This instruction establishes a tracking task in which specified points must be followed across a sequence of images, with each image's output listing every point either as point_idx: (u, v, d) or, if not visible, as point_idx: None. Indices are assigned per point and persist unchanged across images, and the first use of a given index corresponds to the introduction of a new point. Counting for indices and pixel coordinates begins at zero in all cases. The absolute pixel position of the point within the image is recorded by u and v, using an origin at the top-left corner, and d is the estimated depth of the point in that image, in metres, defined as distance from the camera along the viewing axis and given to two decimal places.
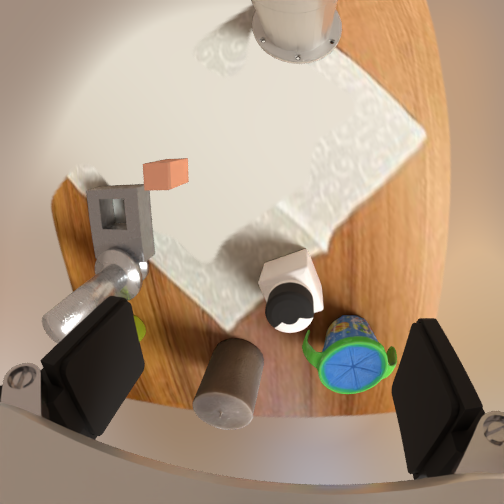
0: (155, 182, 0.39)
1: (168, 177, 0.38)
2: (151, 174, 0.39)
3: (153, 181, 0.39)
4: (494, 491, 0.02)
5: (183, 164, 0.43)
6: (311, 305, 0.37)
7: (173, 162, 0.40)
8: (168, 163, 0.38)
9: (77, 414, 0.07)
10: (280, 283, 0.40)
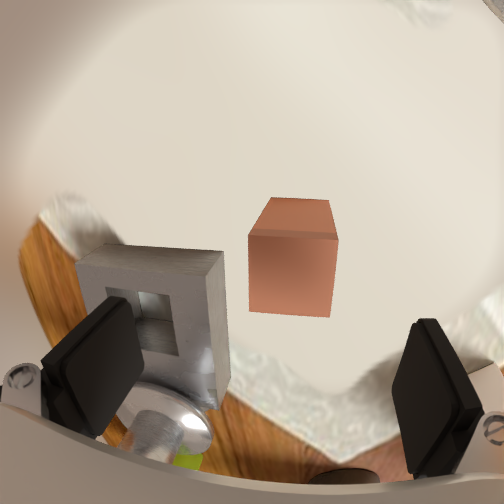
0: (288, 295, 0.13)
1: (333, 283, 0.13)
2: (277, 270, 0.13)
3: (282, 290, 0.13)
4: (494, 491, 0.02)
5: None
6: None
7: None
8: None
9: (77, 415, 0.07)
10: None
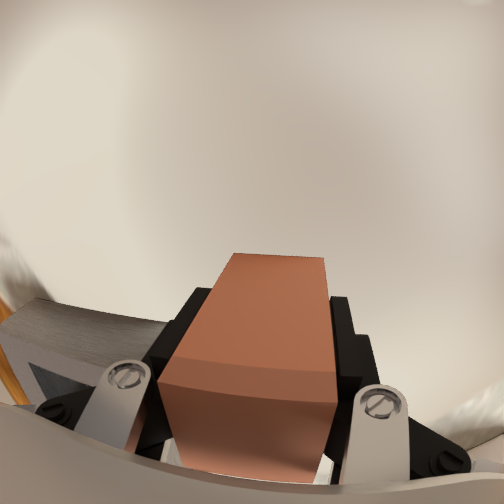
0: (242, 461, 0.06)
1: (322, 452, 0.06)
2: (219, 434, 0.06)
3: (232, 455, 0.06)
4: (494, 491, 0.02)
5: None
6: None
7: None
8: None
9: None
10: None
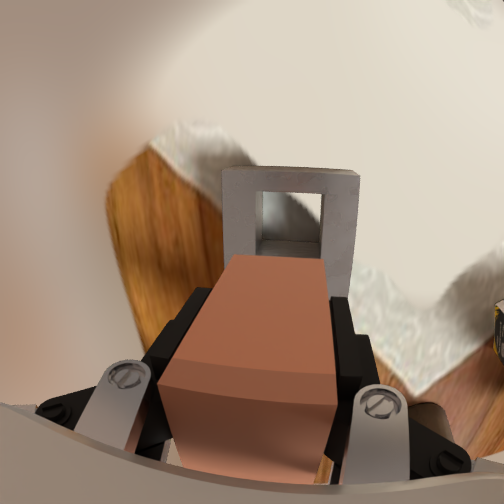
0: (242, 462, 0.06)
1: (322, 454, 0.06)
2: (219, 435, 0.06)
3: (232, 457, 0.06)
4: (494, 491, 0.02)
5: None
6: None
7: None
8: (335, 395, 0.06)
9: None
10: None
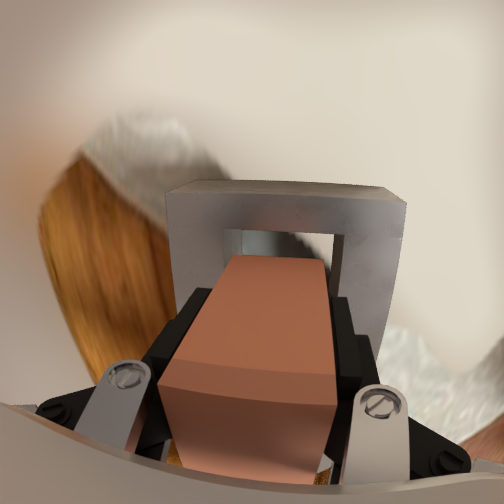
0: (242, 463, 0.06)
1: (322, 454, 0.06)
2: (219, 436, 0.06)
3: (232, 457, 0.06)
4: (494, 491, 0.02)
5: None
6: None
7: None
8: (335, 395, 0.06)
9: None
10: None
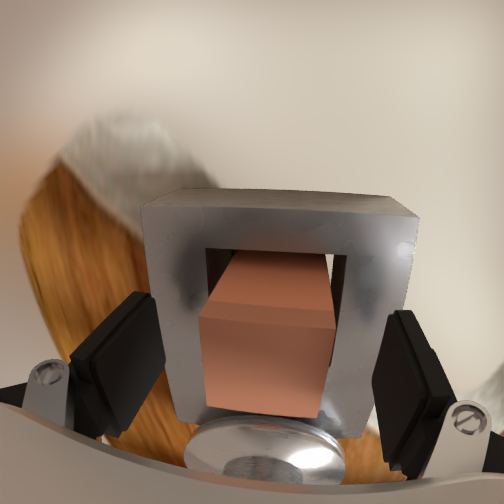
0: (259, 393, 0.09)
1: (325, 381, 0.08)
2: (243, 364, 0.08)
3: (251, 388, 0.09)
4: (494, 491, 0.02)
5: None
6: None
7: None
8: None
9: (104, 410, 0.07)
10: None
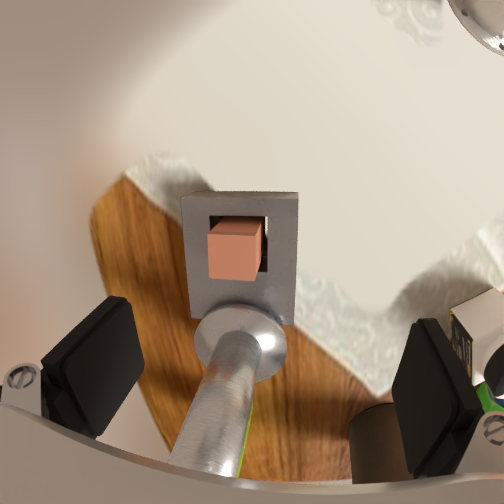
0: (230, 267, 0.24)
1: (254, 260, 0.24)
2: (223, 253, 0.24)
3: (226, 265, 0.24)
4: (494, 491, 0.02)
5: (263, 227, 0.28)
6: None
7: (258, 231, 0.25)
8: (255, 236, 0.23)
9: (77, 415, 0.07)
10: None
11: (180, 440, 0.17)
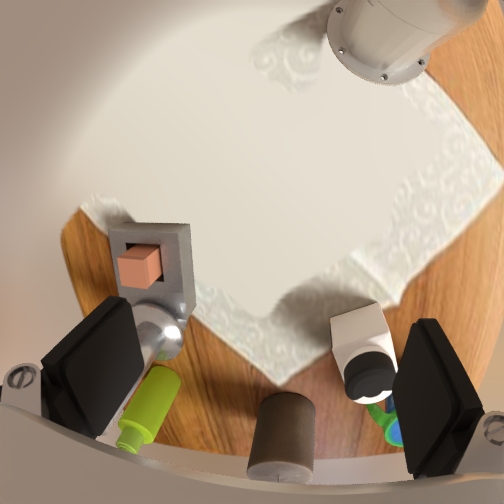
0: (132, 279, 0.35)
1: (145, 275, 0.34)
2: (127, 270, 0.34)
3: (130, 278, 0.35)
4: (494, 491, 0.02)
5: None
6: None
7: (151, 255, 0.35)
8: (144, 260, 0.34)
9: (77, 415, 0.07)
10: (361, 352, 0.32)
11: None
